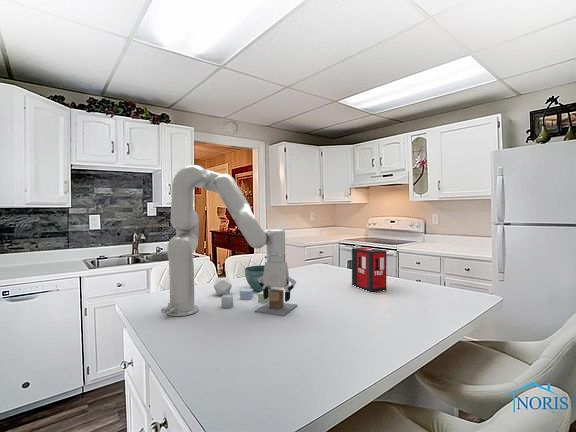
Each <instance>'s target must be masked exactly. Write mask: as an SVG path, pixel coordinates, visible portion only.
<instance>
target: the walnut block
mask: <svg viewBox="0 0 576 432" xmlns="http://www.w3.org/2000/svg"><path fill="white" fill-rule="evenodd" d="M284 290H285V289H278V288H273V289H271V290H269V308H270V309H278V310H279V309H281V308H282V307H284V303H285V292H284Z"/></svg>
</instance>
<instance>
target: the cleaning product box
mask: <svg viewBox="0 0 576 432" xmlns="http://www.w3.org/2000/svg"><path fill="white" fill-rule="evenodd" d="M352 285H354V286H356V287H355V288H357V287H359V288H358V289H360V288H362V289H364V290H363V291H365V290H367V291H366V292H368V291H370V292H369V293H371V292H376V293H378V292H377V291H383V290H386V291H387V250H382V249H378V248H372V247H371V248H370V247H365V246H364V247H354V248H351V286H352ZM354 286H353V287H354ZM362 289H361V290H362ZM383 292H384V291H383Z"/></svg>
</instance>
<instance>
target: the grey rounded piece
mask: <svg viewBox="0 0 576 432" xmlns="http://www.w3.org/2000/svg"><path fill="white" fill-rule="evenodd" d="M220 296H221V308H223V309H232V308H233V307H234V295H233V294H229V295H220Z"/></svg>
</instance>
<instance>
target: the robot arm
mask: <svg viewBox="0 0 576 432" xmlns="http://www.w3.org/2000/svg"><path fill="white" fill-rule="evenodd" d="M195 188H199V189H203V190H205V191H210V192H212V193H215V194H218V197H219V198H220V199H221V201H222V202H223V204H224V205H225V207H226V209H227V211H228V212H229V214H230V216H231V218H232V219H233V220H234V222H235V224H236V226H237V228H238V230H239V231H240V233H241V234H242V236H243V237H244V239H245V240H246V242H247V243H248V245H249V246H250V247H252V248H253V249H256V250H257V249H261V248H263V247H264V246H266V254H265V255H264V259H266V261H265V262H264V265H265V266H264V275H263V276H261V277H259V278H258V281H259V284H260V286H261V287H262V289H263V296H264V299H267V298H268V297H269V291H270V289H268V286H270V288H271V287H272V288H283V290H285V292H284V303H288V302H290V300H291V291H292V290H293V289H294V288H295V286H296V283H297V281H296V280H295V279H294V278H292V277H291V276H290V274H289V267H288V262H287V261H286V231H285V230H284V229H282V228H270V229H267V228H262V227H261V225H260V224H259V222H258V220H257V218H256V217H255V215H254V213H253V211H252V208H251V206H250V204H249V201H248V200H247V199H246V197H245V195H244V193H243V192H242V191H241V189H240V187H239V186H238V184H237V182H236V180H235V178H234V177H233V176H232V175H230V174H229V173H219V172H216V171H212V170H209V169H206V168H204V167H203V166H201V165H199V164H191V165H190V164H189V165H186V166H184V167H183V168H180V169H179V170H178V172H176V174H175V176H174V177H173V180H172V186H171V201H170V202H171V203H170V204H171V205H170V207H171V208H170V225H171V227H172V228H173V229H174V230H175V235H173V237H171V238H170V240H169V241H168V243H167V246H166V247H167V249H166V250H167V251H166V252H167V259H168V270H169V272H168V274H169V302H168V303H167V306H164V307H162V308H161V309H160V312H161V314H166V315H167V316H170V317H184V316H190V315H193V314H195V313H197V312H199V306H198V305H196V304H195V268H194V267H195V264H194V255H193V253H194V252H196V250H197V249H198V245H199V222H200V219H199V215H198V213H197V212H196V211H195V209H194V197H195V196H194V190H195ZM262 279H263V281H262ZM290 283H291V284H290ZM289 284H290V285H289Z"/></svg>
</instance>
